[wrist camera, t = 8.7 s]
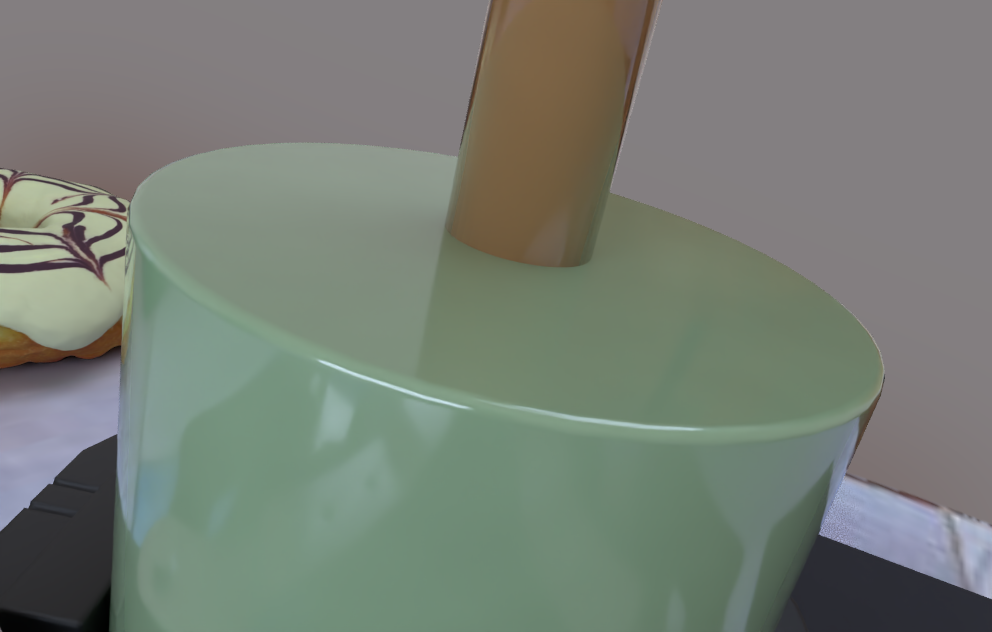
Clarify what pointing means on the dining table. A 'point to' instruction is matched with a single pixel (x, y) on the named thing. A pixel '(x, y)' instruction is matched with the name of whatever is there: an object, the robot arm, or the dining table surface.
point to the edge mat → (881, 596)
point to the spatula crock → (471, 378)
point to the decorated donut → (59, 269)
